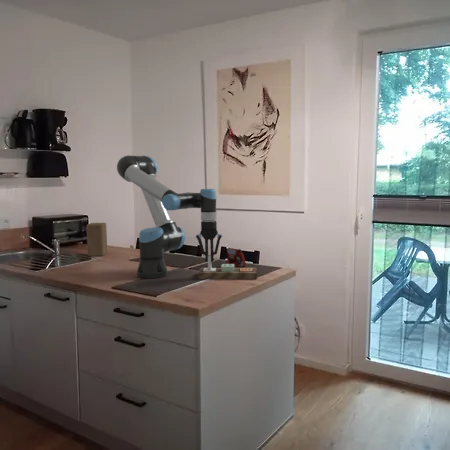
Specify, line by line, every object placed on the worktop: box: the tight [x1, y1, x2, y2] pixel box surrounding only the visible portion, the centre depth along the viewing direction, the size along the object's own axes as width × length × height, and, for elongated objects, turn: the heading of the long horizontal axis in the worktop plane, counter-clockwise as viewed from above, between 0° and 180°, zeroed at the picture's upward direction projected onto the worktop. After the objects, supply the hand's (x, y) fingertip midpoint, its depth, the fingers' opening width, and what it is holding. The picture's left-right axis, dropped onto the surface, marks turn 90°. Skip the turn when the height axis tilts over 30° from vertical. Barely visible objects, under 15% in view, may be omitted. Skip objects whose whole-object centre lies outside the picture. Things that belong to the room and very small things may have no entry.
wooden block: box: [86, 222, 108, 257], centre depth 282 cm, size 10×10×20 cm
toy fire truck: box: [224, 247, 247, 268], centre depth 239 cm, size 7×12×10 cm, turn 42°
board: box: [197, 267, 258, 280], centre depth 220 cm, size 28×12×3 cm, turn 86°
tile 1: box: [203, 267, 217, 272], centre depth 221 cm, size 6×6×3 cm
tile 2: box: [220, 263, 234, 272], centre depth 220 cm, size 6×6×3 cm
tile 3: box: [239, 267, 254, 272], centre depth 219 cm, size 6×6×3 cm
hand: (209, 268), depth 220 cm, fingers closed
